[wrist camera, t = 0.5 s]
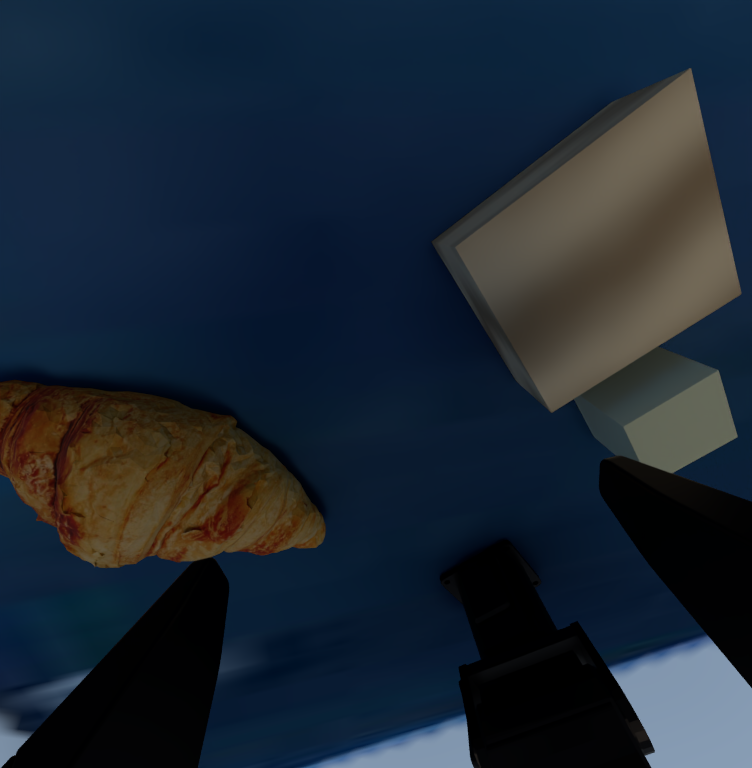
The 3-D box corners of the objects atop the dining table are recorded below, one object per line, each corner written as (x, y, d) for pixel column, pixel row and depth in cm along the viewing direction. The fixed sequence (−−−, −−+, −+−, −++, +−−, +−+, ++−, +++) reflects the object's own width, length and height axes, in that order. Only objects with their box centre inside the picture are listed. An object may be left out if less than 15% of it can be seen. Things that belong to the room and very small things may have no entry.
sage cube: (661, 395, 24) (737, 436, 19) (593, 436, 24) (650, 484, 20) (638, 339, 22) (718, 370, 17) (566, 385, 23) (623, 426, 18)
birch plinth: (668, 280, 20) (741, 293, 16) (516, 381, 22) (551, 412, 18) (611, 102, 16) (690, 67, 13) (431, 242, 18) (455, 247, 14)
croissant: (343, 455, 27) (380, 483, 20) (286, 583, 26) (303, 665, 18) (26, 324, 21) (-98, 290, 13) (-75, 486, 19) (-281, 553, 12)
